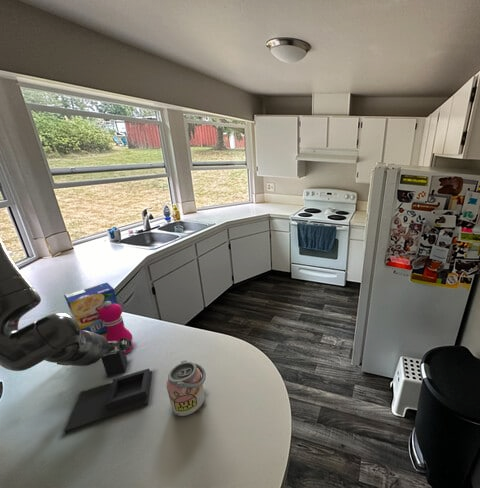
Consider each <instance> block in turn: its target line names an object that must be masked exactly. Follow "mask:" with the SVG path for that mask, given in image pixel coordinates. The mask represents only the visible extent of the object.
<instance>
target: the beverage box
mask: <svg viewBox="0 0 480 488" xmlns="http://www.w3.org/2000/svg"><path fill="white" fill-rule="evenodd" d="M63 296H64V299H65V302H66V304H67V306H68V309H69V312H70V314H71V315H70V316H71V317H73V318H74V319H75V321H76V322H77V324H78V325H79V328H80V330H83V331H90V332H93V333H96V334H99V335H101V336H103V337H104V338H105V339H106V336H107V327H106V326H104V324H103V320H101V319H100V318H99V316H98V312H99V310H100V309H101V308H102V307H103V306H105V305H104V303H105V302H106V301H110V302H111V304H118V305H119V302H118V299H117V296H116V292H115V289H114V287H112V285H111V284H109V282H104V283H101V284H97V285H94V286H91V287H87V288H84V289H80V290H76V291H74V292H71V293H70V292H69V293H67V294H64V295H63ZM122 324H123V326H124V327H125V328H126V326H125V323H124V318H123V319H122Z"/></svg>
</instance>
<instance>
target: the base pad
mask: <svg viewBox="0 0 480 488" xmlns="http://www.w3.org/2000/svg"><path fill="white" fill-rule="evenodd" d="M152 379H153V371H152V370H150V368H146V369H141V370H139V371H136V372H131V373H129V374H125V375H122V376H119V377H115V378H113V379H112V381H111V382H109V383H106V384H102V385H99V386H95V387H92V388H89V389H85V390H82V391H80V393H79V395H78V398H77V400H76V402H75V405H74V407H73V410H72V411H71V414H70V416H69V419H68V421H67V423H66V425H65V428H64V430H63V432H64V434H69V433H71V432H74V431H77V430H81V429H83V428H85V427H88V426H92V425H95V424H97V423H100V422H103V421H106V420H108V419H113V418H114V417H117V416H120V415H123V414H126V413H129V412H131V411H135V410H137V409H140V408H143V407H146V406H148V405H149V398H150V393H151V386H152Z"/></svg>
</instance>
